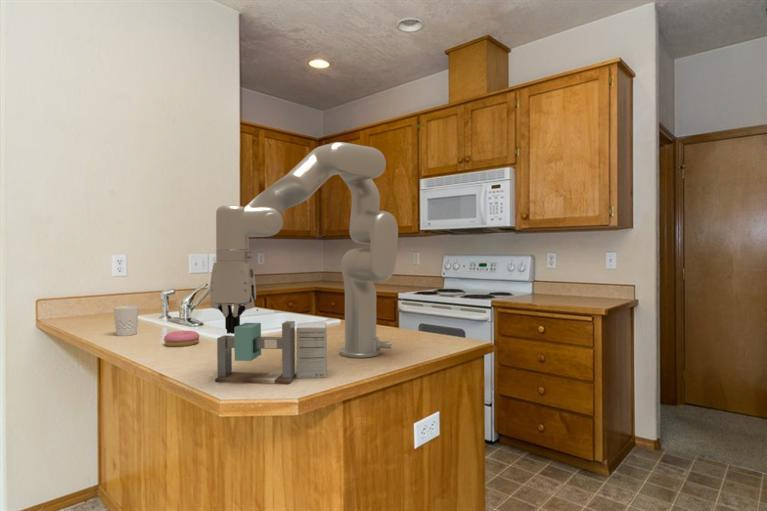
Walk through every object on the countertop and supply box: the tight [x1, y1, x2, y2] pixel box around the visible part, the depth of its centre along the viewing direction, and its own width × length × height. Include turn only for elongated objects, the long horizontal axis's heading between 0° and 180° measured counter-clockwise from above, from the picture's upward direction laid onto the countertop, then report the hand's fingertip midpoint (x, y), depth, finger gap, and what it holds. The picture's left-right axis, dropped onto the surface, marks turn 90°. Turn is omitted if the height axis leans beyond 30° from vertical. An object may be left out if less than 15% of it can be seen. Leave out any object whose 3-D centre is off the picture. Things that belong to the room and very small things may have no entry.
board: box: [214, 371, 297, 385], centre depth 114 cm, size 18×6×1 cm, turn 84°
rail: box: [216, 320, 296, 383], centre depth 114 cm, size 18×4×14 cm, turn 84°
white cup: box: [113, 305, 139, 337], centre depth 173 cm, size 8×8×10 cm
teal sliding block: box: [233, 322, 262, 362], centre depth 114 cm, size 4×7×8 cm, turn 174°
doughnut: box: [163, 330, 200, 348], centre depth 156 cm, size 11×11×4 cm
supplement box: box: [296, 321, 328, 379], centre depth 119 cm, size 7×7×13 cm
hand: (232, 332), depth 114 cm, fingers closed
